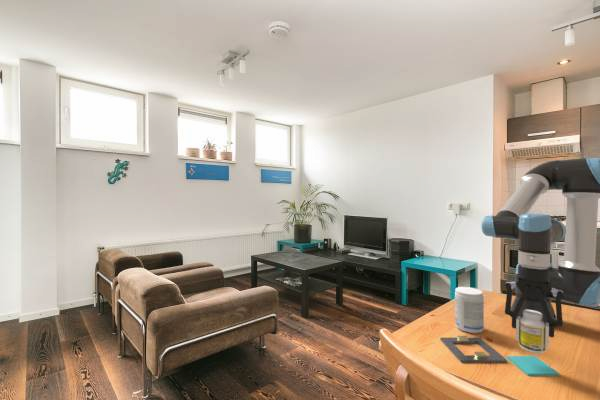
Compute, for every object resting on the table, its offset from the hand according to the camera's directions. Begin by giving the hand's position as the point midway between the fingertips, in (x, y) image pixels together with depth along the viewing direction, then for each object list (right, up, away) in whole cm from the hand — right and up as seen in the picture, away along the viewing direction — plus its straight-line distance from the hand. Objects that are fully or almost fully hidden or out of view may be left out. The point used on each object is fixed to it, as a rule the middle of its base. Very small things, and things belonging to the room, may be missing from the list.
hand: (531, 342), depth 90 cm
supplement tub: (-5, -7, +25) cm, 27 cm away
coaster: (0, -7, 0) cm, 7 cm away
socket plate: (-13, -7, +9) cm, 17 cm away
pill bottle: (0, -2, 0) cm, 2 cm away
